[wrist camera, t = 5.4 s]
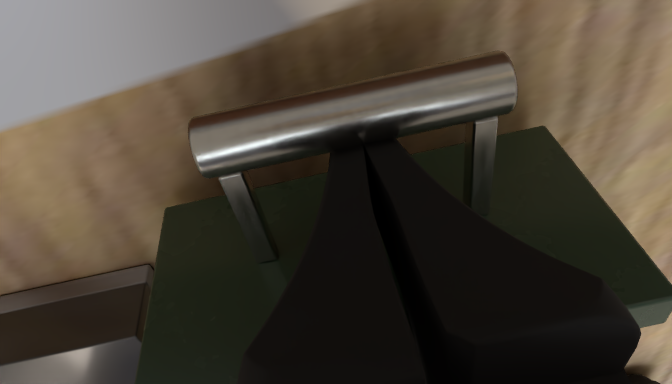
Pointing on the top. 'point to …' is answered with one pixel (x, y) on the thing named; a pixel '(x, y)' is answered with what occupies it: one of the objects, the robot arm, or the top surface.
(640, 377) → the carrying case
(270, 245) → the drawer
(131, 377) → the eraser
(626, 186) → the top surface
